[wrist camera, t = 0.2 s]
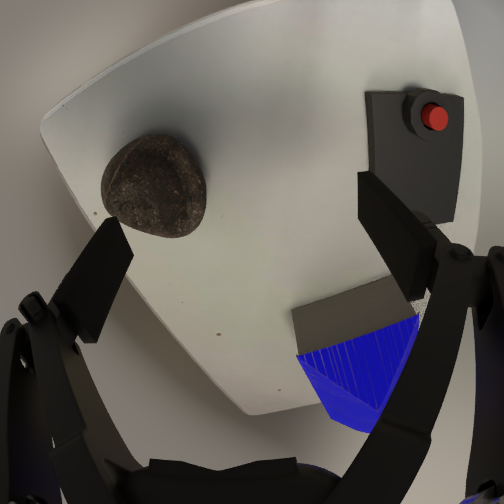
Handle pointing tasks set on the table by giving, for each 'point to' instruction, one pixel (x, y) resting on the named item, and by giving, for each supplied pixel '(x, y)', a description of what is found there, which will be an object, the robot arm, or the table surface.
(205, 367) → the table surface
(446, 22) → the table surface
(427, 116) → the tare button
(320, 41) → the table surface
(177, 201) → the stone
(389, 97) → the scale
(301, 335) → the house
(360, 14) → the table surface
